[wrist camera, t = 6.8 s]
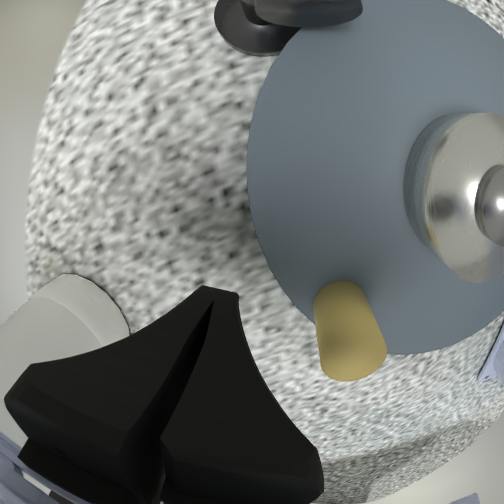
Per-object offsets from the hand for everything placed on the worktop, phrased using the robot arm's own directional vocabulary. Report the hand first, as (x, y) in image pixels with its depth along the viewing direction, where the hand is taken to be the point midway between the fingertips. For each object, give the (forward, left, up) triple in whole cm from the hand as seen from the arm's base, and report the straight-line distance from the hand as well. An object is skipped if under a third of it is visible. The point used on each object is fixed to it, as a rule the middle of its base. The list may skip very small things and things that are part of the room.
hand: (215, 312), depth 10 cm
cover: (-11, -4, -2) cm, 11 cm away
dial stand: (-2, -12, -5) cm, 13 cm away
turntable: (-10, -4, -4) cm, 12 cm away
